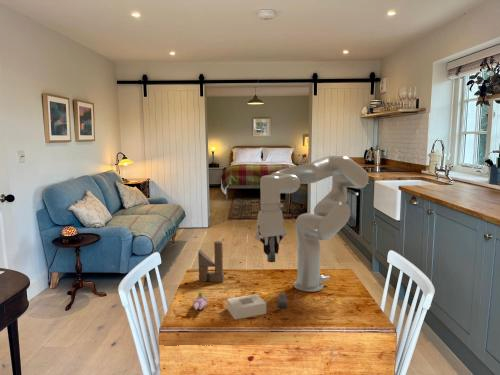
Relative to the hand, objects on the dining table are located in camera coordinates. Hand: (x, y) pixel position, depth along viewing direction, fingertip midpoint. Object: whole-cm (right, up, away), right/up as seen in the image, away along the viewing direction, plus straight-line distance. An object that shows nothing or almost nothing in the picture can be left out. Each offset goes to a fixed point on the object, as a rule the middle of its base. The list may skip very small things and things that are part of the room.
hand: (271, 252), depth 148 cm
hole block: (-10, -20, -10) cm, 24 cm away
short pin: (+4, -19, -6) cm, 21 cm away
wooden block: (-26, -16, +21) cm, 37 cm away
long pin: (0, -3, 0) cm, 3 cm away
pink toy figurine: (-27, -20, -6) cm, 34 cm away
